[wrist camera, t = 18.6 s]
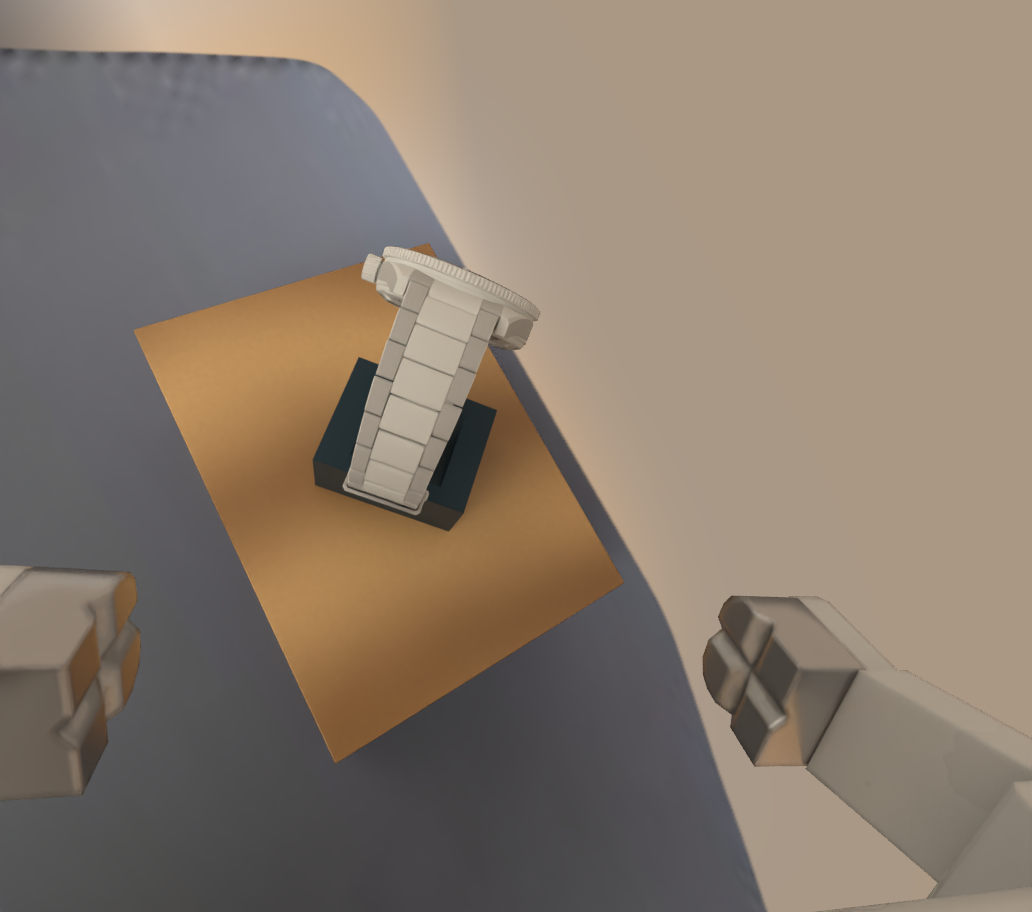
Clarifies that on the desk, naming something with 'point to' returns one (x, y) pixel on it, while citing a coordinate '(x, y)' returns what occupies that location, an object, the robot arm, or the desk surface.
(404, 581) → the wooden display stand
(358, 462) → the watch
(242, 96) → the desk surface
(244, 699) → the desk surface
